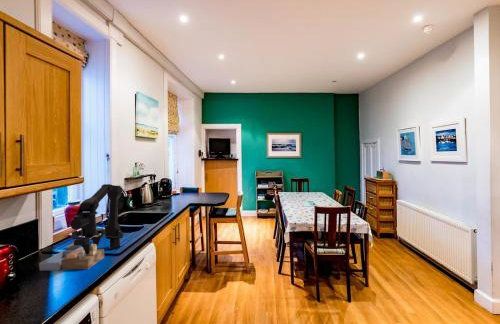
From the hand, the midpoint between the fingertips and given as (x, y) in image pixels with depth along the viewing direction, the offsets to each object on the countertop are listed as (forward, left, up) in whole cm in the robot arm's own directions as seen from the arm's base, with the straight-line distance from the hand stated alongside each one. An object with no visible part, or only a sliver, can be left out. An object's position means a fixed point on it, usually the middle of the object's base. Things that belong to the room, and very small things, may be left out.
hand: (91, 251), depth 137 cm
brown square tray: (0, -5, -6) cm, 8 cm away
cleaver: (-24, -29, -7) cm, 38 cm away
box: (0, -17, -6) cm, 18 cm away
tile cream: (-3, -8, -1) cm, 8 cm away
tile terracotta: (+3, -8, -1) cm, 8 cm away
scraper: (0, 0, -1) cm, 1 cm away
